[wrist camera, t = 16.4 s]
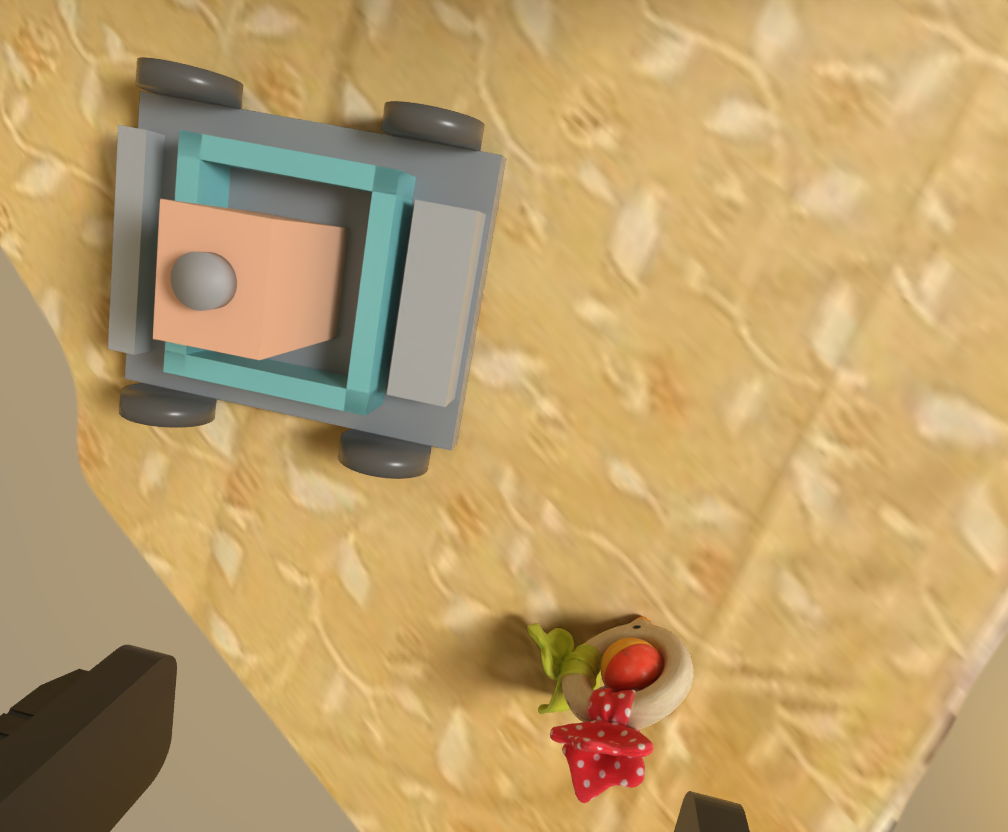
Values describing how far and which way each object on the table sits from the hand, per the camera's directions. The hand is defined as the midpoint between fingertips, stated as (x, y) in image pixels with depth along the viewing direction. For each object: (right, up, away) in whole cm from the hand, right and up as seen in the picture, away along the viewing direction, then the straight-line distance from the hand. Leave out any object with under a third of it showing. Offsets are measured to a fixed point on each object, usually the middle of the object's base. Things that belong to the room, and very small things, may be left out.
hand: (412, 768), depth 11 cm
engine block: (-10, +13, +28) cm, 33 cm away
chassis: (-10, +13, +30) cm, 34 cm away
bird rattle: (+8, -8, +32) cm, 34 cm away
